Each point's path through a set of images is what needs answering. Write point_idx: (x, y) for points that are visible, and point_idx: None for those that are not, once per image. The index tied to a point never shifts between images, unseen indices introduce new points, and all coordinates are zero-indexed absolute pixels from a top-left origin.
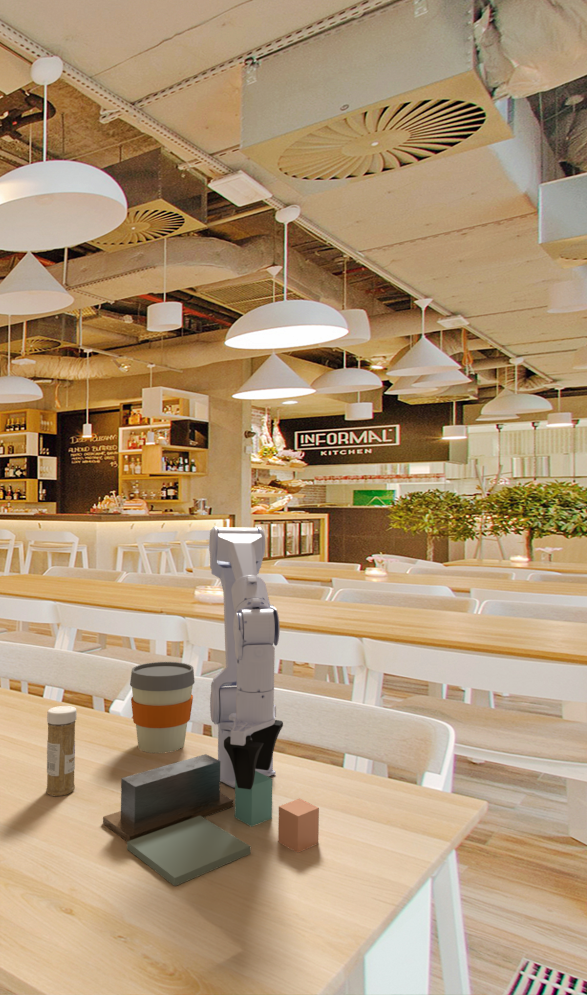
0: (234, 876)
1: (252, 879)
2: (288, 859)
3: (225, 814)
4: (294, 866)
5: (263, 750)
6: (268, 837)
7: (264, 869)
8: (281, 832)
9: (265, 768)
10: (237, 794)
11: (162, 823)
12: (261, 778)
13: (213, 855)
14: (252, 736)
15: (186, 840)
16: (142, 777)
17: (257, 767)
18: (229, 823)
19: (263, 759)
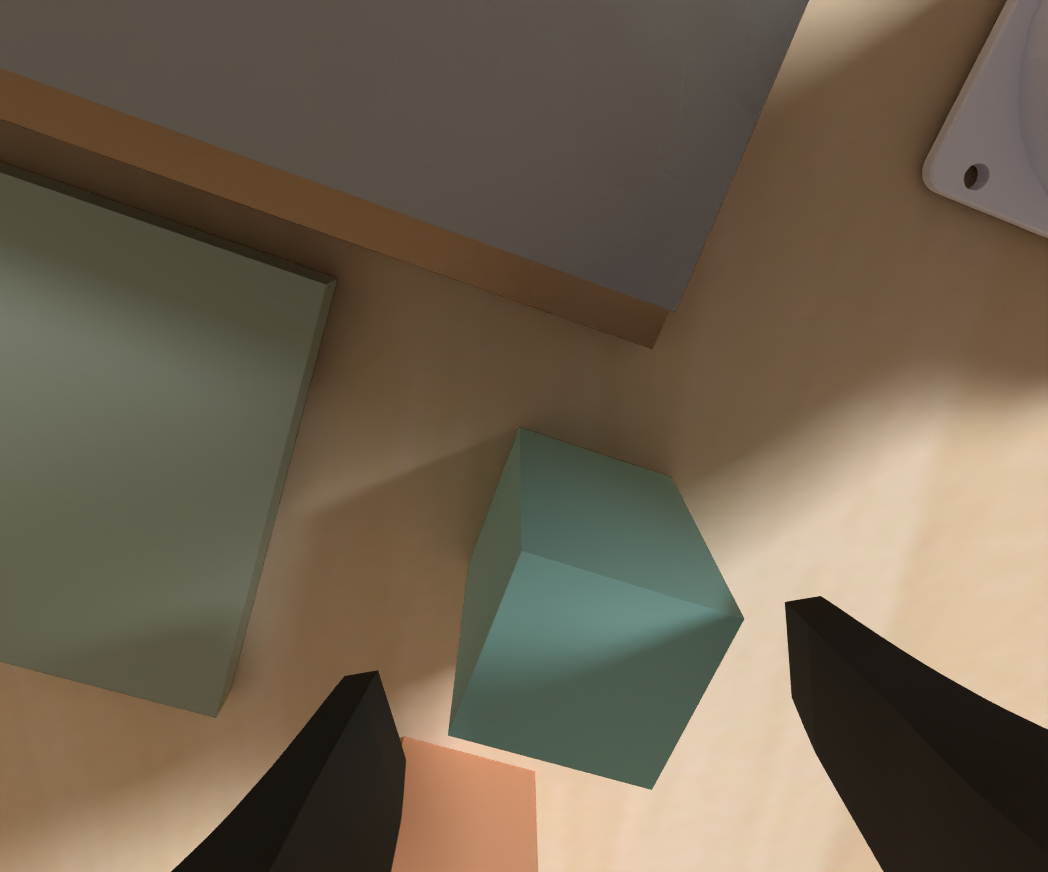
0: (31, 725)
1: (68, 788)
2: None
3: (522, 357)
4: None
5: (882, 796)
6: (415, 684)
7: (164, 791)
8: None
9: (794, 690)
10: (511, 514)
11: (66, 115)
12: (612, 729)
13: (15, 624)
14: (977, 818)
15: (21, 413)
16: None
17: (790, 625)
18: (433, 443)
19: (829, 729)
